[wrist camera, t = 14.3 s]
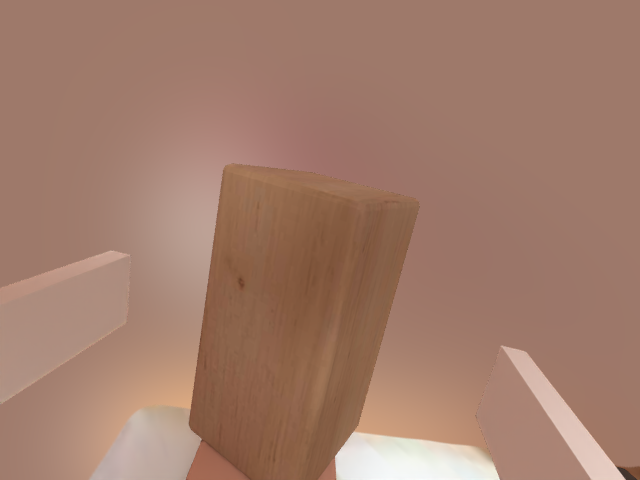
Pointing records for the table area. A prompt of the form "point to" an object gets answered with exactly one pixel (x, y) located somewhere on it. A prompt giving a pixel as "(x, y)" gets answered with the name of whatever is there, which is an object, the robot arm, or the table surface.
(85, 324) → the robot arm
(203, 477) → the tower top
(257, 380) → the wooden block
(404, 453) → the table surface
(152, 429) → the table surface
